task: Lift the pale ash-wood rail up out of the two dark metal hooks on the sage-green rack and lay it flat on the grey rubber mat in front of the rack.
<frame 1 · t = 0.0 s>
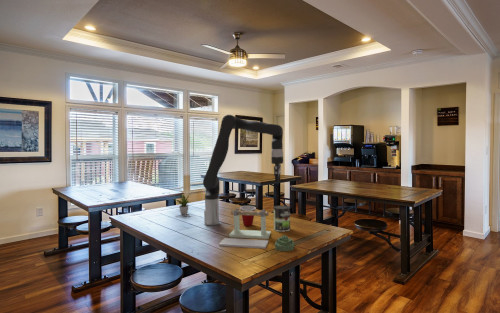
hand: (277, 181, 191), 29 cm above the table, fingers open, 8 cm apart
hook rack: (250, 235, 175), on the table
plastic cup: (248, 225, 197), on the table
rail: (249, 213, 174), point 13 cm above the table, touching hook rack
mat: (244, 243, 160), on the table
decorative artifact: (284, 248, 154), on the table
house plant: (184, 213, 234), on the table
coffee can: (281, 229, 186), on the table
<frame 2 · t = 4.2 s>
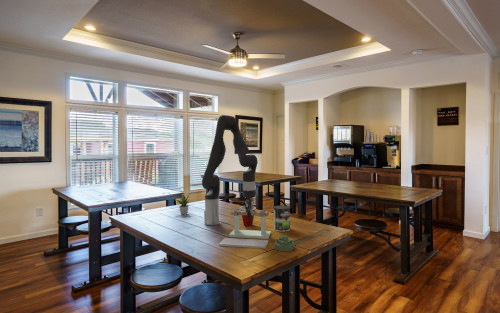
hand: (249, 218, 175), 10 cm above the table, fingers closed on rail, 2 cm apart
rail: (249, 213, 174), point 13 cm above the table, touching gripper, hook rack
everything else where it was.
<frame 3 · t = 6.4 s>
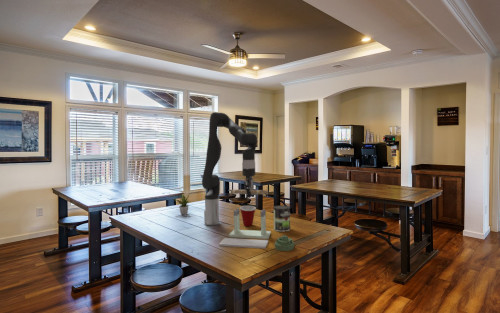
hand: (249, 196, 174), 23 cm above the table, fingers closed on rail, 2 cm apart
rail: (249, 191, 174), point 26 cm above the table, touching gripper
everything else where it was.
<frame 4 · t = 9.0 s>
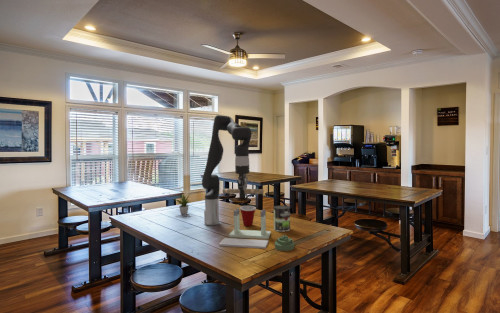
hand: (242, 196, 159), 26 cm above the table, fingers closed on rail, 2 cm apart
rail: (242, 191, 159), point 29 cm above the table, touching gripper
everything else where it was.
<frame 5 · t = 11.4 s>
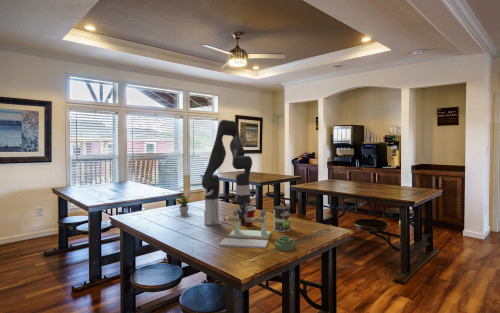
hand: (243, 225, 160), 10 cm above the table, fingers closed on rail, 2 cm apart
rail: (243, 219, 160), point 13 cm above the table, touching gripper
everything else where it was.
when the fingers open (2 cm above the table, at t = 13.8 s): rail drops 3 cm, resting on mat.
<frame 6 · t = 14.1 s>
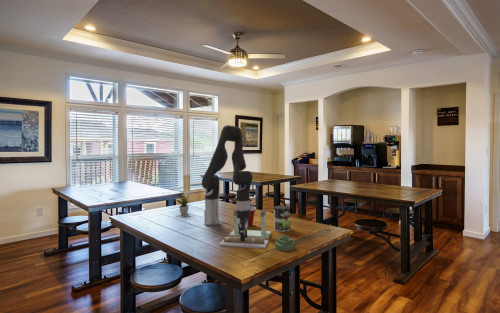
hand: (243, 239, 160), 2 cm above the table, fingers open, 5 cm apart
rail: (244, 239, 160), point 2 cm above the table, touching mat
everything else where it was.
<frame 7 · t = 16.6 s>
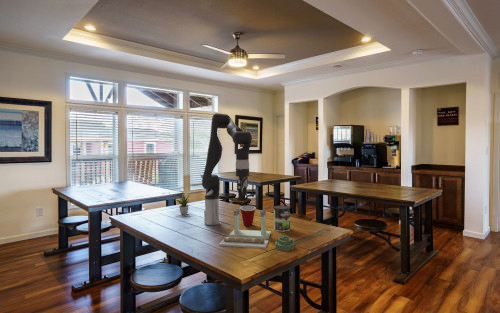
hand: (242, 196, 166), 25 cm above the table, fingers open, 8 cm apart
nothing on the table moved.
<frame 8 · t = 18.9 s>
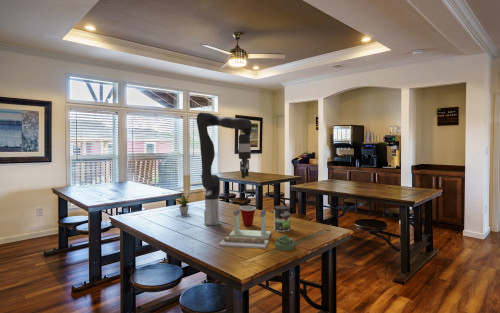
hand: (245, 177, 185), 33 cm above the table, fingers open, 8 cm apart
rail: (244, 239, 161), point 2 cm above the table, tilted 15°, touching mat
everything else where it was.
at the end: rail inside the target area (0.4 cm from its centre), point 2.2 cm above the table; rail touching mat; the gripper is holding nothing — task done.
